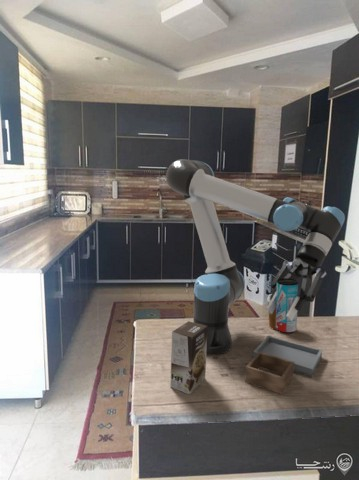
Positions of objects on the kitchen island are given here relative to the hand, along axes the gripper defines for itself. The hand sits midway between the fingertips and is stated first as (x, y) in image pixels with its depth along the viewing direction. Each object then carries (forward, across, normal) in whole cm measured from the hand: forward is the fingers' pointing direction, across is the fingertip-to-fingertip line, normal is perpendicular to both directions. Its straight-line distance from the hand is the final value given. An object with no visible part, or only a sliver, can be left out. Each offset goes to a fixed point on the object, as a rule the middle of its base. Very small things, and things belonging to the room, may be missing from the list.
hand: (278, 314), depth 100 cm
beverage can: (+2, 0, -7) cm, 7 cm away
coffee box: (+29, +11, +5) cm, 32 cm away
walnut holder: (+16, -1, -10) cm, 19 cm away
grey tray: (+6, +3, -20) cm, 21 cm away
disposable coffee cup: (-6, +20, -33) cm, 39 cm away
